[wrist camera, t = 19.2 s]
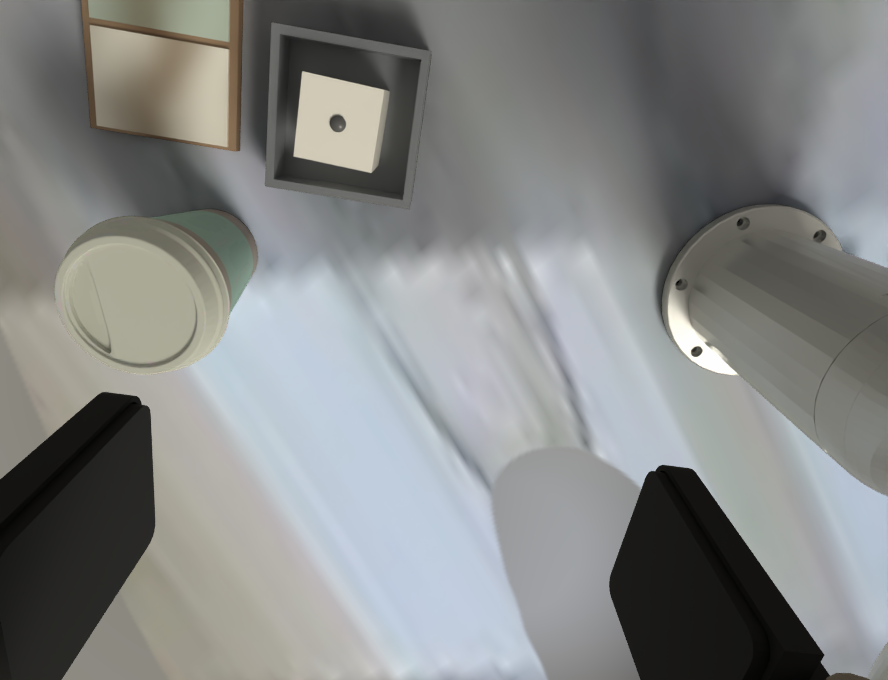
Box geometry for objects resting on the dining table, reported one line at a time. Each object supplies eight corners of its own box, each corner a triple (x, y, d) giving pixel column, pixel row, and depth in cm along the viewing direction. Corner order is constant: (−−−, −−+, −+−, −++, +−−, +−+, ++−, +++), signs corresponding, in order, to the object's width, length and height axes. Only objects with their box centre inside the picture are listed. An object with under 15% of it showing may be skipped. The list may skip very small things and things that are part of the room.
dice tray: (431, 55, 35) (431, 51, 32) (411, 201, 38) (409, 209, 36) (284, 28, 34) (271, 22, 31) (277, 180, 38) (264, 186, 35)
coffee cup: (178, 163, 37) (70, 189, 26) (297, 228, 39) (243, 279, 28) (136, 272, 40) (21, 337, 29) (249, 328, 42) (181, 410, 31)
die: (390, 90, 35) (384, 88, 31) (378, 165, 37) (371, 173, 33) (317, 73, 35) (300, 69, 31) (308, 150, 36) (292, 156, 32)
